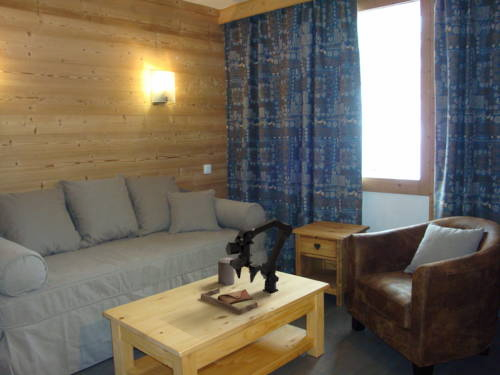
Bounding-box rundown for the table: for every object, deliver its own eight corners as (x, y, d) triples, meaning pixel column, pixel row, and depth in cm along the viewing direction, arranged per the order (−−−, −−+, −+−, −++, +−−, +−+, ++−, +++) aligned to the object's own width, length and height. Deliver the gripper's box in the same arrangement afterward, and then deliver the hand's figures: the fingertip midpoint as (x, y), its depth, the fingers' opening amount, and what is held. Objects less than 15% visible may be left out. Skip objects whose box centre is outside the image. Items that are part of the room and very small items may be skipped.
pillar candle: (214, 283, 266) (214, 258, 263) (225, 278, 274) (225, 254, 271) (227, 286, 260) (228, 261, 258) (238, 281, 268) (238, 257, 266)
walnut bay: (218, 291, 252) (218, 287, 252) (257, 306, 232) (257, 302, 232) (200, 298, 243) (200, 294, 243) (240, 314, 223) (240, 309, 223)
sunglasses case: (225, 306, 233) (221, 293, 235) (219, 309, 238) (216, 296, 240) (254, 298, 243) (250, 286, 245) (248, 301, 248) (244, 289, 250)
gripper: (222, 252, 244) (222, 280, 246) (247, 259, 231) (247, 288, 234) (236, 247, 252) (236, 275, 254) (262, 254, 239) (261, 283, 242)
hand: (245, 280), depth 246 cm, fingers open, 9 cm apart
